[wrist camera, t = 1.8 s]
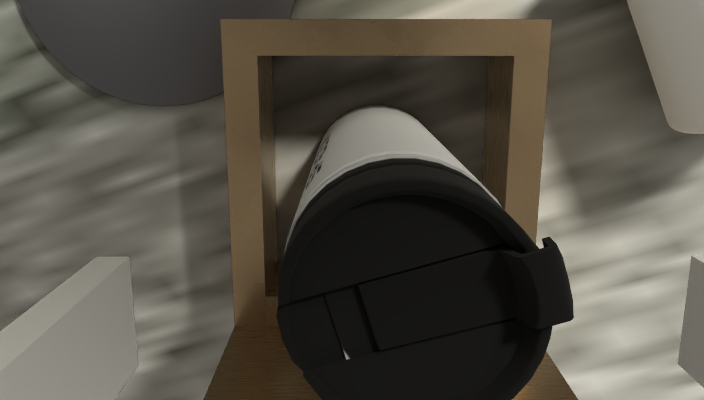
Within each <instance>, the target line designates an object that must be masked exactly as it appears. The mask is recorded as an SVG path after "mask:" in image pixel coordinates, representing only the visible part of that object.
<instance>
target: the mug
mask: <svg viewBox="0 0 704 400" xmlns="http://www.w3.org/2000/svg"><path fill="white" fill-rule="evenodd" d="M627 3H628V6H629V9H630V12H631V15H632V18H633V21H634V24H635V27H636V30H637V33H638V36H639V39H640V42H641V45H642V48H643V51H644V54H645V57H646V60H647V63H648V66H649V69H650V72H651V75H652V78H653V81H654V84H655V87H656V90H657V93H658V96H659V99H660V102H661V105H662V108H663V111H664V114H665V117H666V120H667V123H668V125H669V126H670V127H671V128H672V129H674V130H676V131H679V132H683V133H689V134H704V0H627Z"/></svg>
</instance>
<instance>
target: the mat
mask: <svg viewBox="0 0 704 400" xmlns="http://www.w3.org/2000/svg"><path fill="white" fill-rule="evenodd" d="M19 3H20V5H21V7H22V9H23V12H24V14H25V16H26V18H27V20H28V22H29V23H30V25H31V27H32V28H33V30H34V32H35V33H36V35H37V36H38V38H39V39H40V40H41V42H42V43H43V44H44V46H45V47H46V48H47V49H48V51H49V52H50V53H51V54H52V55H53V56H54V57H55V58H56V59H57V60H58V61H59V62H60V63H61V64H62V65H63V66H64V67H65V68H67V69H68V70H69V71H70V72H71V73H73V74H74V75H75V76H76V77H78V78H79V79H81V80H82V81H84V82H86V83H87V84H89V85H90V86H92V87H94V88H96V89H98V90H100V91H102V92H104V93H106V94H108V95H110V96H113V97H116V98H119V99H122V100H125V101H129V102H134V103H139V104H144V105H156V106H172V105H183V104H188V103H193V102H198V101H202V100H205V99H207V98H210V97H213V96H216V95H219V94H221V93H223V92H224V86H223V64H222V43H221V22H220V19H290V17H291V13H292V10H293V7H294V4H295V0H19Z"/></svg>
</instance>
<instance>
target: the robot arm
mask: <svg viewBox="0 0 704 400" xmlns="http://www.w3.org/2000/svg"><path fill="white" fill-rule="evenodd" d="M678 364H679V365H680V366H681V367H682V368H683V369H684V370H685V371H686V372H687V373H688V374H689V375H691V376H692V377H693V378H694V379H695V380H696V381H697V382H698V383H699V384H700V385H701V386H703V387H704V256H691V264H690V272H689V280H688V288H687V296H686V304H685V311H684V319H683V327H682V335H681V343H680V351H679V359H678ZM137 367H138V355H137V342H136V330H135V318H134V306H133V294H132V282H131V270H130V258H129V257H95V258H94V259H93V260H92V261H90V262H89V263H88V264H86V265H85V266H84V267H82V268H81V269H80V270H79V271H77V272H76V273H75V274H73V275H72V276H71V277H70V278H68V279H67V280H66V281H64V282H63V283H62V284H61V285H59V286H58V287H57V288H55V289H54V290H53V291H51V292H50V293H49V294H48V295H46V296H45V297H44V298H42V299H41V300H40V301H39V302H37V303H36V304H35V305H33V306H32V307H31V308H30V309H28V310H27V311H26V312H24V313H23V314H22V315H20V316H19V317H18V318H17V319H15V320H14V321H13V322H11V323H10V324H9V325H8V326H6V327H5V328H4V329H2V330H1V331H0V400H115V398H116V397H117V396H118V394H119V393H120V391H121V390H122V388H123V387H124V385H125V384H126V383H127V381H128V380H129V378H130V377H131V375H132V374H133V372H134V371H135V369H136V368H137Z"/></svg>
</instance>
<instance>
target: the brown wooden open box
mask: <svg viewBox="0 0 704 400" xmlns="http://www.w3.org/2000/svg"><path fill="white" fill-rule="evenodd" d="M220 22H221V43H222V64H223V86H224V107H225V128H226V149H227V171H228V192H229V213H230V235H231V256H232V277H233V298H234V320H235V327H234V329H233V332H232V334H231V336H230V339H229V341H228V343H227V346H226V348H225V350H224V353H223V355H222V357H221V360H220V362H219V365H218V367H217V369H216V372H215V374H214V376H213V379H212V381H211V383H210V386H209V388H208V390H207V393H206V395H205V397H204V400H322V399H321V398H320V397H319V395H318V394H317V393H316V392H315V391H314V389H313V388H312V387H311V386H310V384H309V383H308V382H307V381H306V380H305V378H304V377H303V371H302V370H301V369H300V368H299V367H298V366H297V365H296V364H295V363H294V362H292V360H291V358H290V355H289V353H288V351H287V349H286V347H285V345H284V343H283V341H282V338H281V334H280V330H279V326H278V321H277V317H276V315H277V309H278V271H279V268H280V265H281V262H278V252H277V217H276V183H275V148H274V113H273V79H272V56H489V62H488V82H487V102H486V121H485V141H484V161H483V181H482V185H483V186H484V187H485V188H486V189H487V190H488V191H489V192H490V193H491V194H492V195H493V196H494V197H495V198H496V199H497V200H498V202H499V204H500V205H501V207H502V208H503V209H504V210H505V211H506V212H507V213H508V214H509V215H510V216H511V217H512V218H513V219H514V220H515V221H516V222H517V223H518V224H519V225H520V226H521V228H522V229H523V230H524V231H525V232H526V233H527V234H528V236H529V237H530V238H531V239H532V241H533V242H534V243H535V244H536V233H537V219H538V206H539V192H540V178H541V164H542V150H543V137H544V123H545V109H546V95H547V81H548V68H549V54H550V40H551V26H552V19H220ZM512 400H578V399H577V397H576V396H575V394H574V393H573V391H572V390H571V388H570V387H569V385H568V384H567V382H566V381H565V379H564V377H563V376H562V374H561V373H560V371H559V370H558V368H557V367H556V365H555V364H554V362H553V361H552V359H551V358H550V356H549V355H548V353H547V352H545V356H544V358H543V360H542V361H541V363H540V365H539V367H538V368H537V370H536V372H535V373H534V375H533V377H532V379H531V380H530V381H529V382H528V383H527V384H526V385H525V387H524V388H523V389H522V390H521V391H520V392H519V393H518V394H517V395H516V397H515V398H513V399H512Z"/></svg>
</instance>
